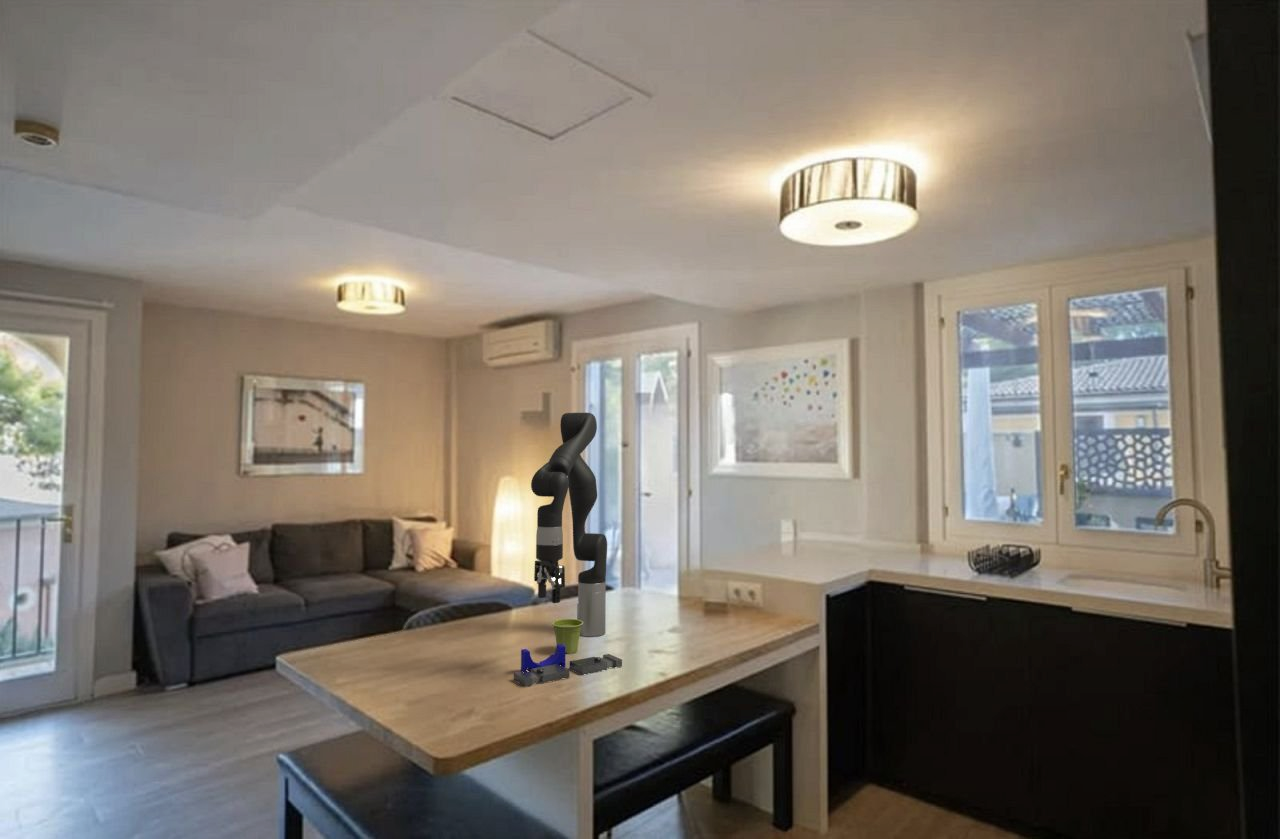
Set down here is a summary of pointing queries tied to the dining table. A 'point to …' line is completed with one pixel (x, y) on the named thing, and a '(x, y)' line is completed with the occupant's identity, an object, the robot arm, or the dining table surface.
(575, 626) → the plant pot
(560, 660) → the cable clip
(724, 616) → the dining table surface
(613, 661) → the grey slotted plastic plates
